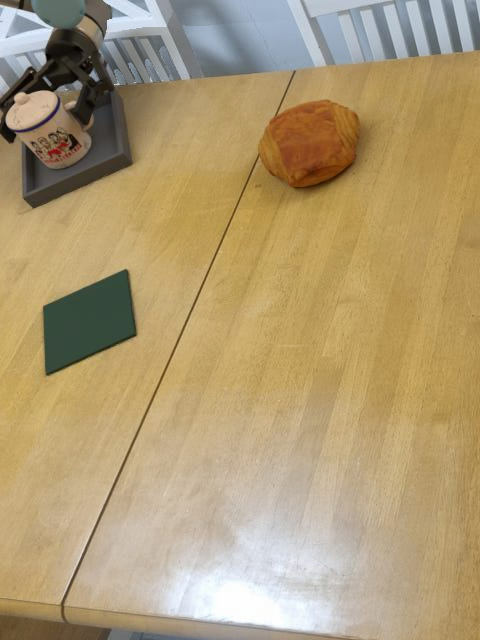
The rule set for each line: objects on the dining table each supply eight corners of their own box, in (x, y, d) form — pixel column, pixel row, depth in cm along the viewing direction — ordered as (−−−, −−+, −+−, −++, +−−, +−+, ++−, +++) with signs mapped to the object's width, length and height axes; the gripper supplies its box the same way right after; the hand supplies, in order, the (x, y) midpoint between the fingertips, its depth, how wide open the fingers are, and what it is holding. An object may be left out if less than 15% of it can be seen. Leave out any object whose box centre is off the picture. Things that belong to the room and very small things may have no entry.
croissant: (275, 151, 116) (245, 112, 110) (362, 110, 113) (336, 68, 107) (277, 212, 108) (244, 175, 102) (371, 170, 105) (343, 129, 99)
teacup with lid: (46, 179, 121) (-8, 124, 112) (42, 148, 126) (-9, 92, 117) (112, 148, 122) (65, 90, 112) (106, 118, 127) (60, 60, 117)
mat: (47, 375, 98) (45, 374, 98) (44, 307, 106) (42, 306, 105) (136, 335, 99) (134, 333, 98) (127, 270, 106) (126, 268, 106)
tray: (32, 208, 119) (22, 198, 117) (30, 139, 130) (21, 128, 128) (132, 164, 119) (123, 152, 117) (122, 98, 130) (113, 87, 128)
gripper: (151, 49, 129) (127, 129, 118) (26, 80, 133) (-8, 161, 121) (125, 10, 123) (97, 90, 112) (-5, 44, 127) (-45, 126, 115)
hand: (42, 127), depth 117 cm, fingers open, 13 cm apart
